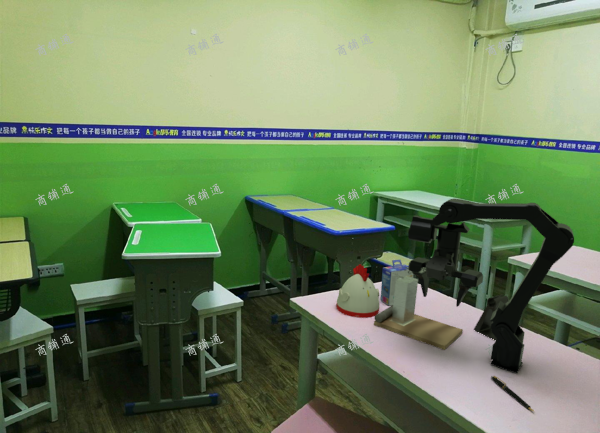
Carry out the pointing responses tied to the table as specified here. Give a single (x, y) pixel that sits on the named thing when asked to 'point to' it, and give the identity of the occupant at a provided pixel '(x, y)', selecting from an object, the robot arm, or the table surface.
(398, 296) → the brushed steel block
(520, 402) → the fountain pen
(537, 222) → the robot arm
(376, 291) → the kitchen timer
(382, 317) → the walnut base leaf
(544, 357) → the table surface
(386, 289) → the ink cartridge box
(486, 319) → the phone stand
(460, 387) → the table surface
